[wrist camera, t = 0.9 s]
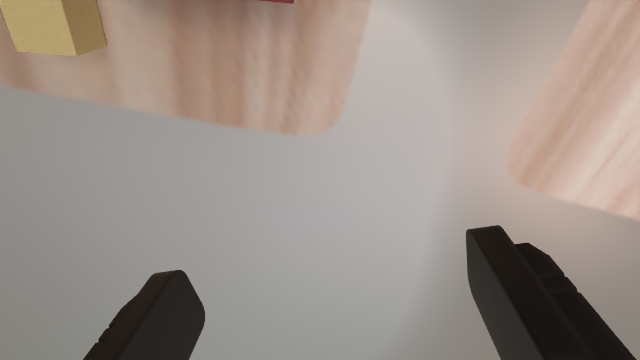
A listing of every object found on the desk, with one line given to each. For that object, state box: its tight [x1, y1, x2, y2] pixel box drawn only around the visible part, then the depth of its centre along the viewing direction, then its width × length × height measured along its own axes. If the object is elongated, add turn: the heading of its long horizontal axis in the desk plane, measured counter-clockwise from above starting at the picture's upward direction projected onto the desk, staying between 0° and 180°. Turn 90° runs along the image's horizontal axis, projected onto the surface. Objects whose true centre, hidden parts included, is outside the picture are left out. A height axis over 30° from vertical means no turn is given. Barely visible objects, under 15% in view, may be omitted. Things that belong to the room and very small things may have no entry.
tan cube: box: [0, 0, 107, 56], centre depth 25 cm, size 4×4×4 cm
